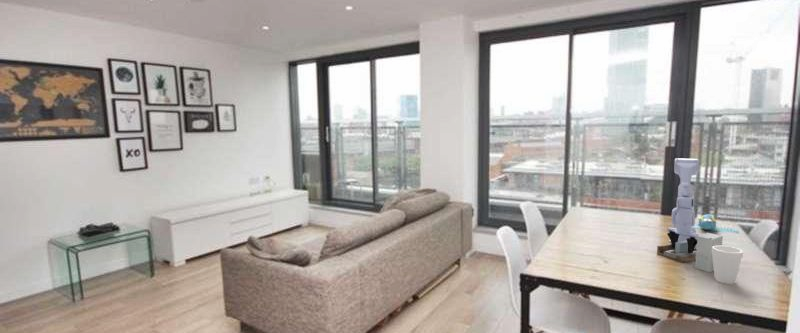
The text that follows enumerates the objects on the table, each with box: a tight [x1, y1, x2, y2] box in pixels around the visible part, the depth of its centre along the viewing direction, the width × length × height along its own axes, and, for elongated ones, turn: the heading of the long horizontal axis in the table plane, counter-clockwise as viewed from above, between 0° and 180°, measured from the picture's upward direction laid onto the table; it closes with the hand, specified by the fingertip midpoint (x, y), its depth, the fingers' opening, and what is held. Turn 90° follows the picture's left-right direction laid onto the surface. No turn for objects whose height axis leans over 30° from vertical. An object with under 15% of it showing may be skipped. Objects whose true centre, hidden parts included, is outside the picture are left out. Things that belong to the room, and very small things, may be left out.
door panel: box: [675, 240, 688, 254], centre depth 185 cm, size 8×2×6 cm, turn 106°
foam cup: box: [712, 244, 744, 285], centre depth 157 cm, size 10×9×13 cm
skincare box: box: [694, 232, 724, 273], centre depth 169 cm, size 8×6×15 cm
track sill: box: [656, 243, 697, 264], centre depth 185 cm, size 17×13×4 cm
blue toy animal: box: [693, 213, 740, 234], centre depth 225 cm, size 28×9×15 cm
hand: (682, 250), depth 185 cm, fingers open, 7 cm apart
